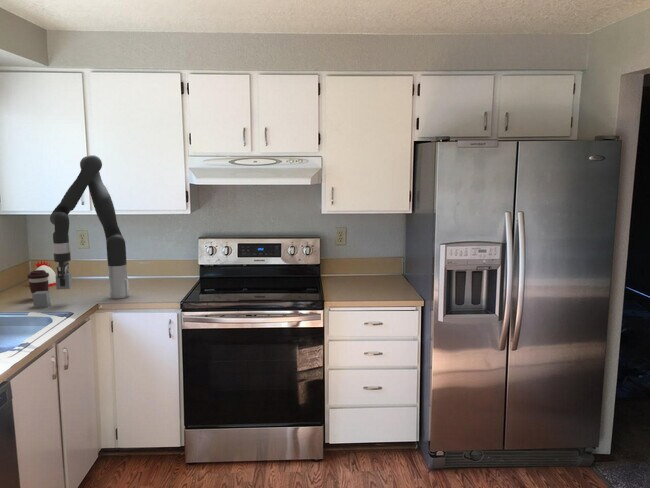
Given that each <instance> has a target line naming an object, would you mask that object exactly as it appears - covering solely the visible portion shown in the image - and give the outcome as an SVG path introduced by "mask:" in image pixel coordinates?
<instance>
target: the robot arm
mask: <svg viewBox="0 0 650 488" xmlns="http://www.w3.org/2000/svg"><path fill="white" fill-rule="evenodd" d="M79 167H80V172H79V173H78V176H77V177H76V178H75V180H74V181H73V182H72V184H71V185H70V186H69V188H68V189H67V190H66V191H65V193H64V195H63V197H62V199H61V201H60V202H59V203H58V205H56V206H55V208H54V209H53V211H52V212H51V213H50V217H49V222H50V223H51V224H52V225H53V226H54V232H53V233H52V242H53V246H52V247H53V248H52V250H53V262H54V263H57V264H58V265H57V267H56V272H57V274H58V279H60V286H65V274H66V273H70V265H69V264H70V263H69V262H71V260H72V259H71V247H70V238H69V237H70V235H69V231H70V217H69V214H70V212H71V211H74V210H75V208H76V207H77V205H78V204H79V202H80V200H81V198H82V196H83V194H84V193H85V190H86V189H87V188H88V191H89V194H90V198H91V202H92V204H93V208H94V211H95V213H96V215H97V218H98V220H99V222H100V225H101V226H102V228H103V231H104V235H105V236H104V237H105V241H106V242H105V244H106V255H107V256H106V258H107V259H106V260H107V270H108V271H107V272H108V283H109V298H110V299H125V298H128V297H129V296H130V286H129V277H128V268H127V267H128V266H127V265H128V264H127V249H126V248H127V247H126V240H125V238H124V237H123V234H122V233H121V230H120V227H119V225H118V221H117V214H116V209H115V206H114V202H113V199H112V197H111V195H110V193H109V190H108V189H107V187H106V186H105V184H104V183H103V180H102V175H101V172H100V171H101V170H102V167H103V162H102V159H101V158H100V157H99V156H97V155H95V154H94V155H92V154H89V155H87V156H84V157H83V158H81V160H80V161H79ZM57 274H56V275H57ZM60 275H62V276H60Z"/></svg>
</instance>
